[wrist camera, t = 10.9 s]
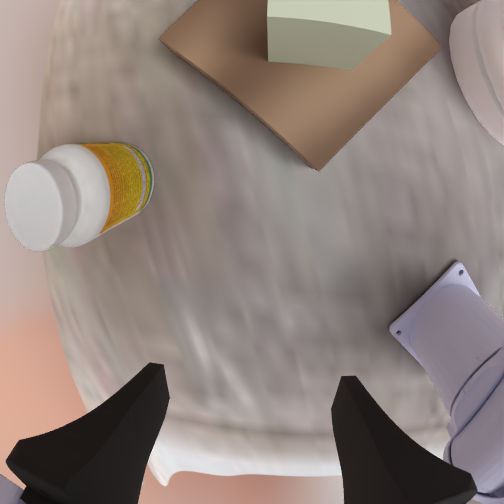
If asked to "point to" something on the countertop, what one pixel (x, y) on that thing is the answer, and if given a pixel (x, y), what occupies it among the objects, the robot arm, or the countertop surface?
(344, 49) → the sage block
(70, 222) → the supplement bottle
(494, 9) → the honey pot
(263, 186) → the countertop surface
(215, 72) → the walnut base
